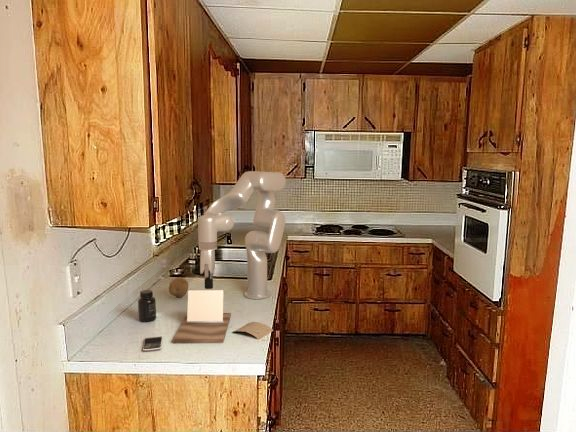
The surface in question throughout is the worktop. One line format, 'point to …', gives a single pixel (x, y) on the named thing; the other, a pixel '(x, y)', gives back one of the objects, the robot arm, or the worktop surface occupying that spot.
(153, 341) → the cell phone
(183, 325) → the walnut board
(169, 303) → the worktop surface
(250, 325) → the clay tablet
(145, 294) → the supplement bottle
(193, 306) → the ceramic tile
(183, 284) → the natural sponge
